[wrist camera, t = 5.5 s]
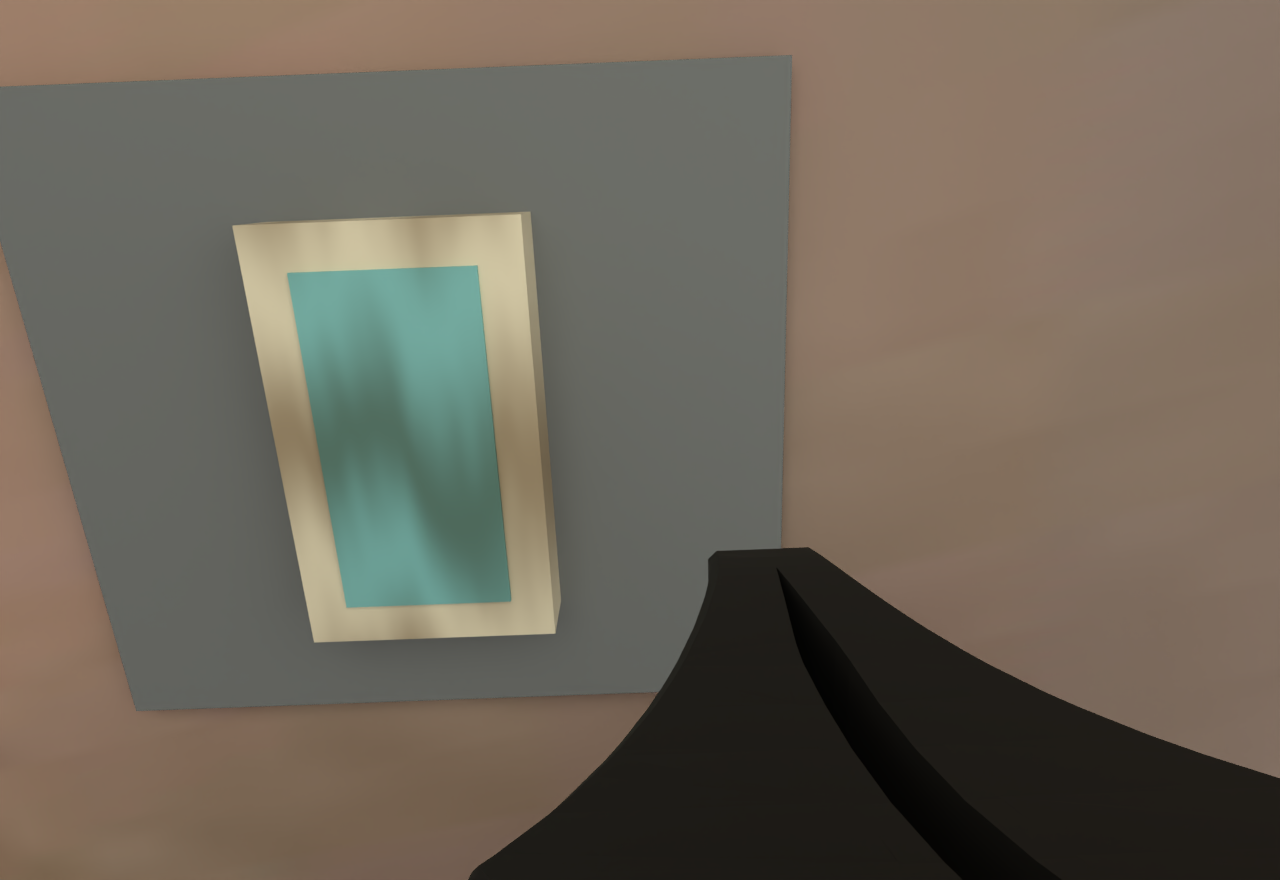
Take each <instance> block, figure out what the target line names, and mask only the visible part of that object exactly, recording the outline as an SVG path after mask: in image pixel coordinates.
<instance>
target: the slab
mask: <svg viewBox="0 0 1280 880" xmlns="http://www.w3.org/2000/svg"><path fill="white" fill-rule="evenodd" d="M232 227H233V232H234V237H235V243H236V248H237V253H238V258H239V263H240V268H241V273H242V278H243V283H244V288H245V293H246V299H247V304H248V309H249V314H250V319H251V324H252V329H253V334H254V339H255V344H256V349H257V355H258V360H259V365H260V370H261V375H262V380H263V385H264V390H265V395H266V400H267V405H268V411H269V416H270V421H271V426H272V431H273V436H274V441H275V446H276V451H277V456H278V461H279V466H280V472H281V477H282V482H283V487H284V492H285V497H286V502H287V507H288V512H289V517H290V522H291V528H292V533H293V538H294V543H295V548H296V553H297V558H298V563H299V568H300V573H301V578H302V584H303V589H304V594H305V599H306V604H307V609H308V614H309V619H310V624H311V629H312V634H313V640H314V642H342V641H369V640H396V639H423V638H450V637H478V636H505V635H532V634H555V633H556V627H557V621H558V615H559V610H560V604H561V593H560V581H559V568H558V555H557V542H556V530H555V517H554V504H553V492H552V479H551V466H550V453H549V441H548V428H547V415H546V402H545V390H544V377H543V364H542V352H541V339H540V326H539V313H538V301H537V288H536V275H535V263H534V250H533V237H532V224H531V212H508V213H482V214H456V215H431V216H405V217H380V218H354V219H329V220H303V221H277V222H261V223H252V224H243V225H233V226H232Z"/></svg>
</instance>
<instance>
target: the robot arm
mask: <svg viewBox="0 0 1280 880" xmlns="http://www.w3.org/2000/svg"><path fill="white" fill-rule="evenodd" d="M468 880H1280V778H1277V777H1273V776H1270V775H1267V774H1264V773H1261V772H1258V771H1255V770H1251V769H1248V768H1245V767H1242V766H1239V765H1236V764H1233V763H1229V762H1226V761H1223V760H1220V759H1217V758H1214V757H1210V756H1207V755H1204V754H1201V753H1198V752H1195V751H1193V750H1190V749H1187V748H1184V747H1181V746H1178V745H1176V744H1173V743H1170V742H1167V741H1164V740H1161V739H1159V738H1156V737H1153V736H1150V735H1148V734H1145V733H1142V732H1140V731H1137V730H1135V729H1132V728H1130V727H1127V726H1125V725H1122V724H1120V723H1117V722H1115V721H1112V720H1110V719H1107V718H1105V717H1102V716H1100V715H1097V714H1095V713H1092V712H1090V711H1087V710H1085V709H1082V708H1080V707H1077V706H1075V705H1073V704H1071V703H1068V702H1066V701H1064V700H1061V699H1059V698H1057V697H1055V696H1052V695H1050V694H1048V693H1046V692H1044V691H1042V690H1039V689H1037V688H1035V687H1033V686H1031V685H1029V684H1027V683H1025V682H1023V681H1021V680H1019V679H1017V678H1015V677H1013V676H1011V675H1009V674H1007V673H1005V672H1003V671H1001V670H999V669H997V668H995V667H993V666H991V665H989V664H987V663H985V662H983V661H982V660H980V659H978V658H976V657H974V656H972V655H971V654H969V653H967V652H965V651H963V650H962V649H960V648H958V647H957V646H955V645H953V644H952V643H950V642H948V641H947V640H945V639H943V638H942V637H940V636H938V635H937V634H935V633H933V632H932V631H930V630H928V629H927V628H925V627H923V626H922V625H920V624H919V623H917V622H916V621H914V620H913V619H911V618H909V617H908V616H906V615H905V614H903V613H902V612H900V611H899V610H897V609H896V608H894V607H893V606H891V605H890V604H888V603H887V602H886V601H884V600H883V599H881V598H880V597H878V596H877V595H875V594H874V593H873V592H871V591H870V590H868V589H867V588H866V587H864V586H863V585H861V584H860V583H859V582H857V581H856V580H854V579H853V578H852V577H850V576H849V575H848V574H846V573H845V572H843V571H842V570H841V569H839V568H838V567H837V566H835V565H834V564H832V563H831V562H830V561H828V560H827V559H825V558H824V557H823V556H821V555H820V554H818V553H817V552H815V551H813V550H812V549H810V548H808V547H806V548H779V549H753V550H727V551H716V552H715V553H714V554H713V555H712V556H711V557H710V558H709V559H708V586H707V590H706V594H705V598H704V600H703V603H702V606H701V609H700V612H699V615H698V617H697V620H696V623H695V625H694V628H693V630H692V632H691V634H690V636H689V638H688V640H687V642H686V645H685V647H684V649H683V651H682V653H681V655H680V657H679V659H678V661H677V663H676V665H675V666H674V668H673V670H672V672H671V673H670V675H669V677H668V678H667V680H666V682H665V683H664V685H663V687H662V688H661V690H660V691H659V693H658V694H657V696H656V697H655V699H654V700H653V702H652V703H651V705H650V706H649V707H648V709H647V710H646V712H645V713H644V714H643V715H642V717H641V718H640V719H639V721H638V722H637V723H636V724H635V726H634V727H633V728H632V729H631V731H630V732H629V733H628V735H627V736H626V737H625V738H624V740H623V741H622V742H621V743H620V744H619V745H618V747H617V748H616V749H615V750H614V751H613V752H612V754H611V755H610V756H609V757H608V758H607V759H606V760H605V761H604V762H603V763H602V764H601V765H600V766H599V767H598V768H597V769H596V770H595V771H594V772H593V773H592V774H591V775H590V776H589V777H588V778H587V779H586V780H585V781H584V782H583V783H582V784H581V785H580V786H579V787H578V788H577V789H576V790H575V791H574V792H573V793H572V794H570V795H569V796H568V797H567V798H566V799H565V800H564V801H563V802H562V803H561V804H560V805H559V806H558V807H557V808H556V809H555V810H553V811H552V812H551V813H550V814H549V815H548V816H546V817H545V818H544V819H542V820H541V821H540V822H538V823H537V824H536V825H534V826H533V827H532V828H530V829H529V830H528V831H526V832H525V833H524V834H522V835H521V836H520V837H518V838H517V839H516V840H514V841H513V842H512V843H510V844H509V845H508V846H506V847H505V848H504V849H502V850H501V851H500V852H498V853H497V854H496V855H494V856H493V857H491V858H490V859H488V860H487V861H485V862H484V863H482V864H481V865H479V866H478V867H477V868H476V869H475V870H474V871H473V872H472V873H471V875H470V877H469V879H468Z"/></svg>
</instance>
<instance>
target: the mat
mask: <svg viewBox="0 0 1280 880" xmlns="http://www.w3.org/2000/svg"><path fill="white" fill-rule="evenodd" d="M791 77H792V55H784V56H759V57H734V58H709V59H684V60H659V61H634V62H609V63H584V64H559V65H534V66H509V67H484V68H459V69H434V70H409V71H384V72H359V73H333V74H308V75H283V76H258V77H233V78H208V79H183V80H158V81H133V82H108V83H83V84H58V85H33V86H8V87H0V242H1V245H2V249H3V252H4V256H5V259H6V263H7V266H8V270H9V273H10V276H11V280H12V283H13V287H14V290H15V294H16V297H17V301H18V304H19V308H20V311H21V314H22V318H23V321H24V325H25V328H26V332H27V335H28V339H29V342H30V346H31V349H32V352H33V356H34V359H35V363H36V366H37V370H38V373H39V377H40V380H41V383H42V387H43V390H44V394H45V397H46V401H47V404H48V408H49V411H50V415H51V418H52V421H53V425H54V428H55V432H56V435H57V439H58V442H59V446H60V449H61V453H62V456H63V459H64V463H65V466H66V470H67V473H68V477H69V480H70V484H71V487H72V491H73V494H74V497H75V501H76V504H77V508H78V511H79V515H80V518H81V522H82V525H83V529H84V532H85V535H86V539H87V542H88V546H89V549H90V553H91V556H92V560H93V563H94V567H95V570H96V573H97V577H98V580H99V584H100V587H101V591H102V594H103V598H104V601H105V605H106V608H107V611H108V615H109V618H110V622H111V625H112V629H113V632H114V636H115V639H116V642H117V646H118V649H119V653H120V656H121V660H122V663H123V667H124V670H125V674H126V677H127V680H128V684H129V687H130V691H131V694H132V698H133V701H134V705H135V708H136V711H148V710H176V709H203V708H231V707H258V706H286V705H313V704H341V703H368V702H396V701H423V700H450V699H478V698H505V697H533V696H560V695H588V694H615V693H643V692H659V691H660V690H661V688H662V687H663V685H664V683H665V682H666V680H667V678H668V677H669V675H670V673H671V672H672V670H673V668H674V666H675V665H676V663H677V661H678V659H679V657H680V655H681V653H682V651H683V649H684V647H685V645H686V642H687V640H688V638H689V636H690V634H691V632H692V630H693V628H694V625H695V623H696V620H697V617H698V615H699V612H700V609H701V606H702V603H703V600H704V598H705V594H706V590H707V586H708V559H709V558H710V557H711V556H712V555H713V554H714V553H715V552H716V551H727V550H753V549H779V548H781V523H782V479H783V434H784V390H785V345H786V300H787V256H788V211H789V167H790V122H791ZM508 212H531V224H532V237H533V250H534V263H535V275H536V288H537V301H538V313H539V326H540V339H541V352H542V364H543V377H544V390H545V402H546V415H547V428H548V441H549V453H550V466H551V479H552V492H553V504H554V517H555V530H556V542H557V555H558V568H559V581H560V593H561V604H560V610H559V615H558V621H557V627H556V633H555V634H532V635H505V636H478V637H450V638H423V639H396V640H369V641H342V642H314V640H313V634H312V629H311V624H310V619H309V614H308V609H307V604H306V599H305V594H304V589H303V584H302V578H301V573H300V568H299V563H298V558H297V553H296V548H295V543H294V538H293V533H292V528H291V522H290V517H289V512H288V507H287V502H286V497H285V492H284V487H283V482H282V477H281V472H280V466H279V461H278V456H277V451H276V446H275V441H274V436H273V431H272V426H271V421H270V416H269V411H268V405H267V400H266V395H265V390H264V385H263V380H262V375H261V370H260V365H259V360H258V355H257V349H256V344H255V339H254V334H253V329H252V324H251V319H250V314H249V309H248V304H247V299H246V293H245V288H244V283H243V278H242V273H241V268H240V263H239V258H238V253H237V248H236V243H235V237H234V232H233V227H232V226H233V225H243V224H252V223H261V222H277V221H303V220H329V219H354V218H380V217H405V216H431V215H456V214H482V213H508Z"/></svg>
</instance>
